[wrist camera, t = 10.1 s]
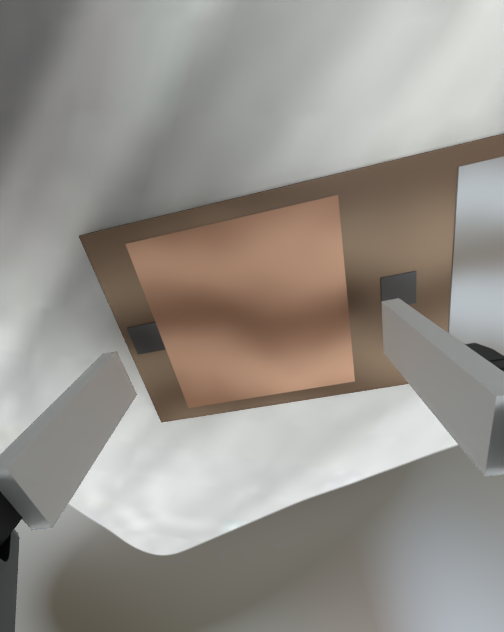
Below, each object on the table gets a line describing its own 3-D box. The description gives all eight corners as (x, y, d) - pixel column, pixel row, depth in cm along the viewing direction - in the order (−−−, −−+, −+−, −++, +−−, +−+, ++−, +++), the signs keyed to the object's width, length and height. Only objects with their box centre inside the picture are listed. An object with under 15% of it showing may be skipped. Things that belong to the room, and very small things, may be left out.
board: (84, 234, 16) (77, 236, 16) (735, 78, 13) (760, 72, 12) (163, 416, 21) (161, 423, 21) (640, 341, 18) (654, 346, 17)
